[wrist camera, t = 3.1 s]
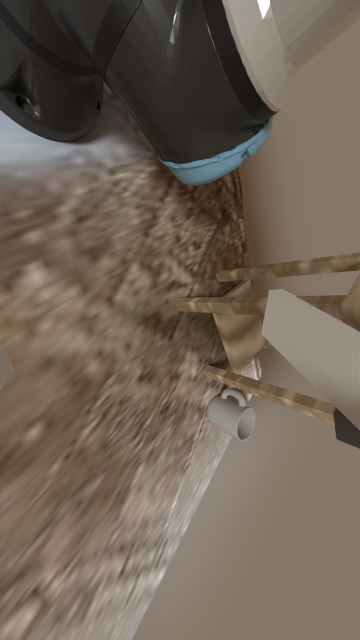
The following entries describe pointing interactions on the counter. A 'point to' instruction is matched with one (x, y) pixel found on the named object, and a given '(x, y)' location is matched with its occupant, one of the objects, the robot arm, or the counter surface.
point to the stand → (245, 324)
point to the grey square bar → (346, 429)
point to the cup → (231, 414)
